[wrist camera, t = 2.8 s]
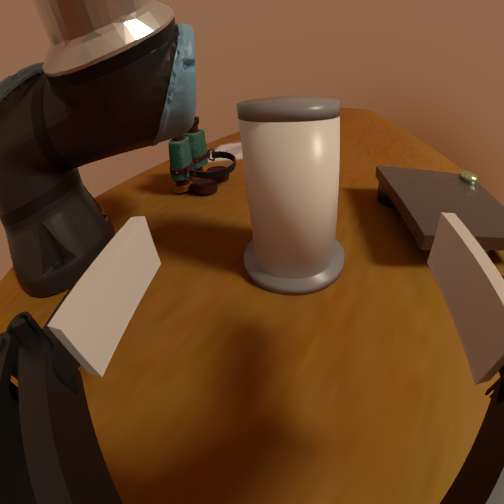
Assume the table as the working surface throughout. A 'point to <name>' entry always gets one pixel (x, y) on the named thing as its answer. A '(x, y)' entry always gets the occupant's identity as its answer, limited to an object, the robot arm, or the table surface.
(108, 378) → the table surface
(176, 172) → the binoculars
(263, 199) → the white flanged cylinder
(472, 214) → the stand
